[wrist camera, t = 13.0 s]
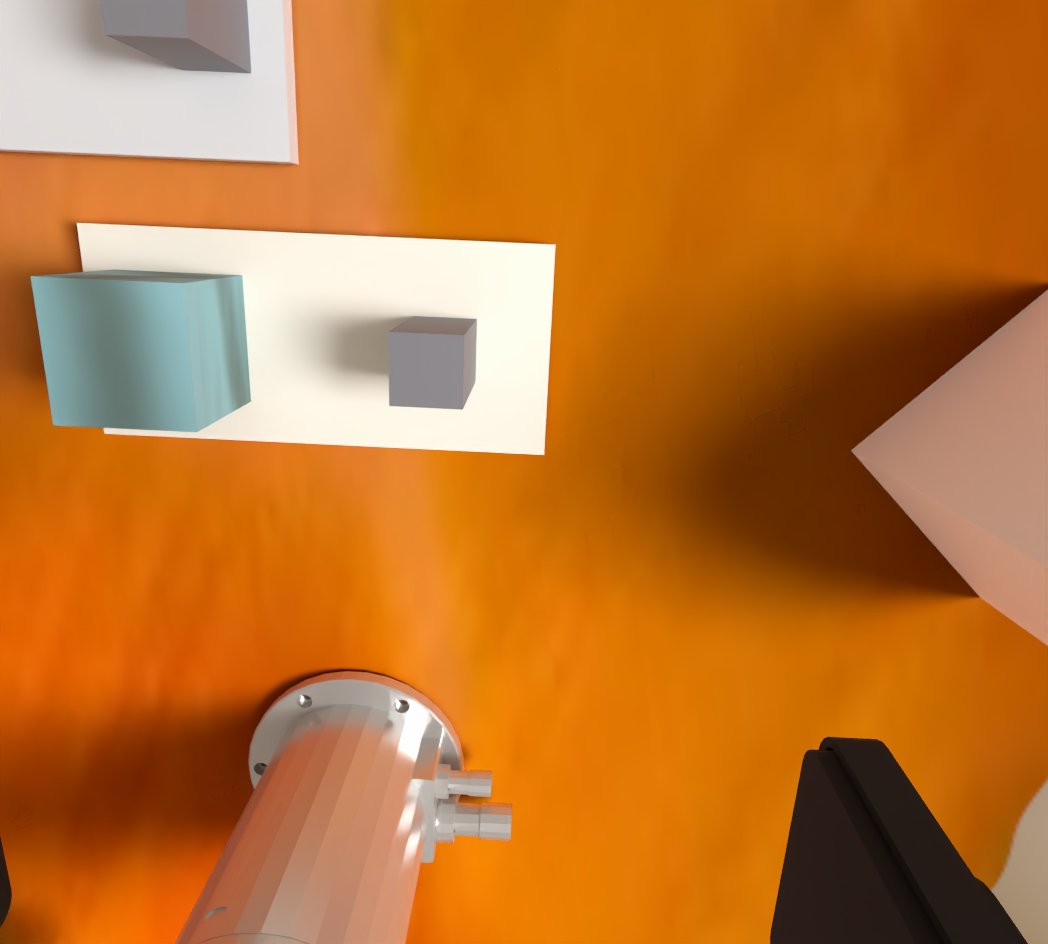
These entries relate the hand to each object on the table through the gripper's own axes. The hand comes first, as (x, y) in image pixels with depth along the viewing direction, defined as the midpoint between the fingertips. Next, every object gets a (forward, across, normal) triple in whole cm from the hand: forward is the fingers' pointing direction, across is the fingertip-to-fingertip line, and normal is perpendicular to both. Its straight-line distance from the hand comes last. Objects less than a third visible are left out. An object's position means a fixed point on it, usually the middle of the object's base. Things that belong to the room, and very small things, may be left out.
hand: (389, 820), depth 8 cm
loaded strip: (+30, +9, -1) cm, 31 cm away
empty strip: (+30, +19, -14) cm, 38 cm away
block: (+29, +16, -1) cm, 33 cm away
